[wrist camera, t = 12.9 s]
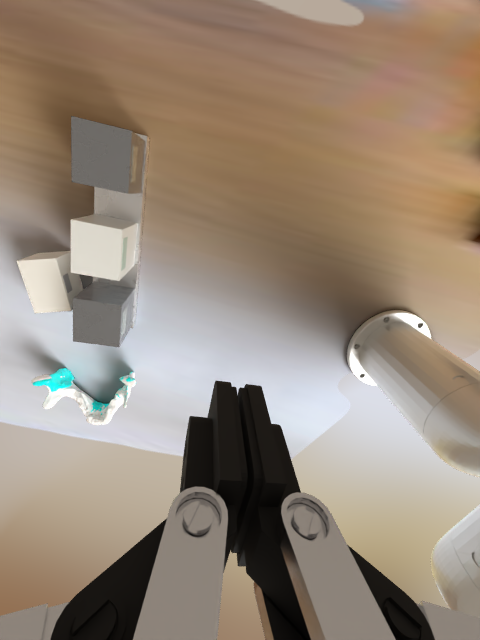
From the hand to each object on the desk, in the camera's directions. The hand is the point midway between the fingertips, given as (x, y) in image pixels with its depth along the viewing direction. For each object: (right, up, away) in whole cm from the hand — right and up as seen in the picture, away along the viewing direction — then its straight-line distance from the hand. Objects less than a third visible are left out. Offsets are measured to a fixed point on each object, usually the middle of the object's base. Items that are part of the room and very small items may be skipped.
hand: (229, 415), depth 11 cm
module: (-14, +13, +23) cm, 30 cm away
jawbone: (-20, -5, +33) cm, 38 cm away
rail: (-14, +13, +25) cm, 31 cm away
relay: (-22, +9, +26) cm, 35 cm away
